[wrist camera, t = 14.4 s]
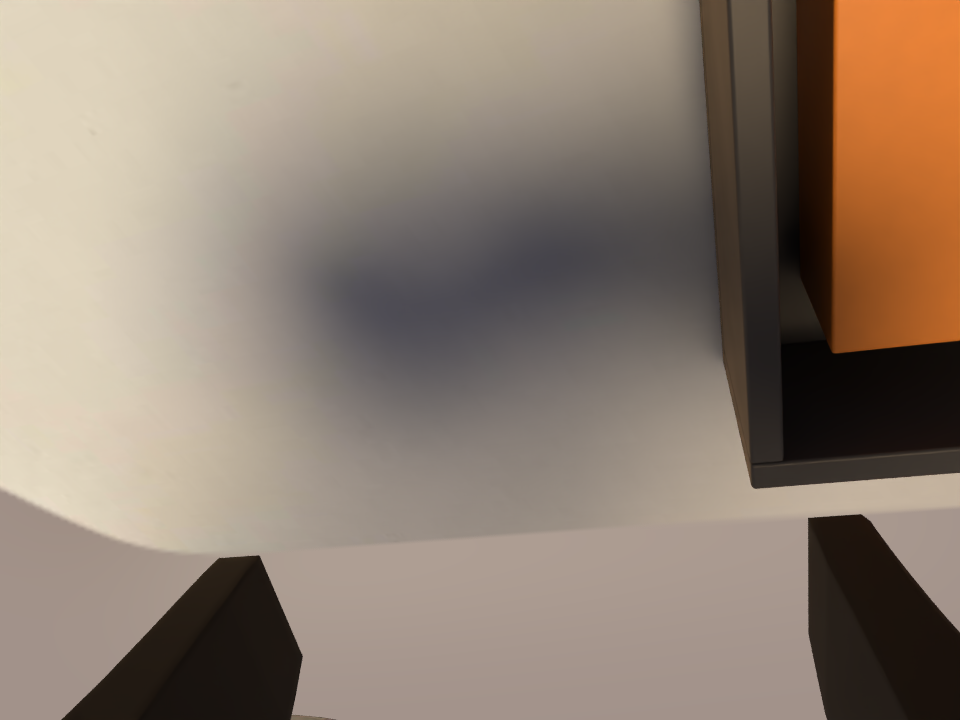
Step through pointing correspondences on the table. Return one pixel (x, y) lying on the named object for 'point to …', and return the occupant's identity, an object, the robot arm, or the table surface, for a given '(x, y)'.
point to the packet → (880, 170)
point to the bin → (800, 289)
